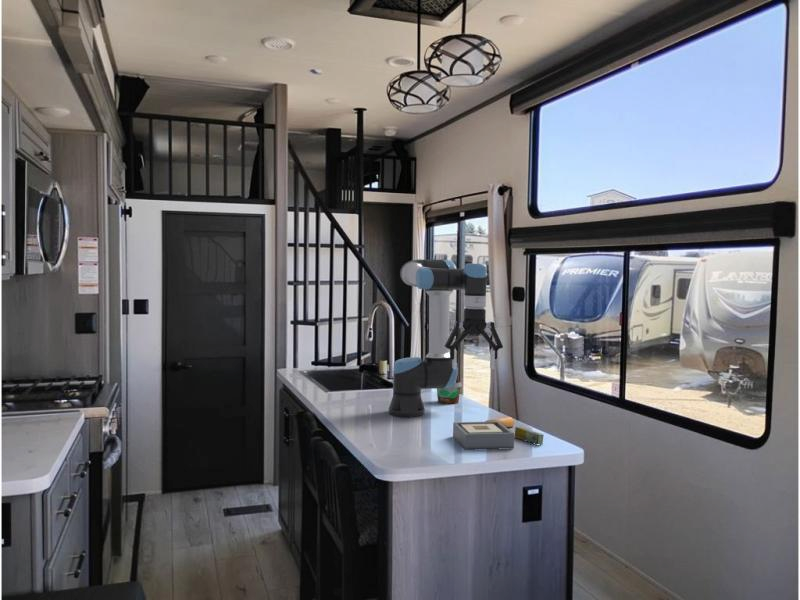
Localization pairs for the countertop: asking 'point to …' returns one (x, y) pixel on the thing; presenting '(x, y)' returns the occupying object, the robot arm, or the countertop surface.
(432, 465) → the countertop surface
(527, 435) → the medication box
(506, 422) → the peg
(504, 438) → the box
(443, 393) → the food container
